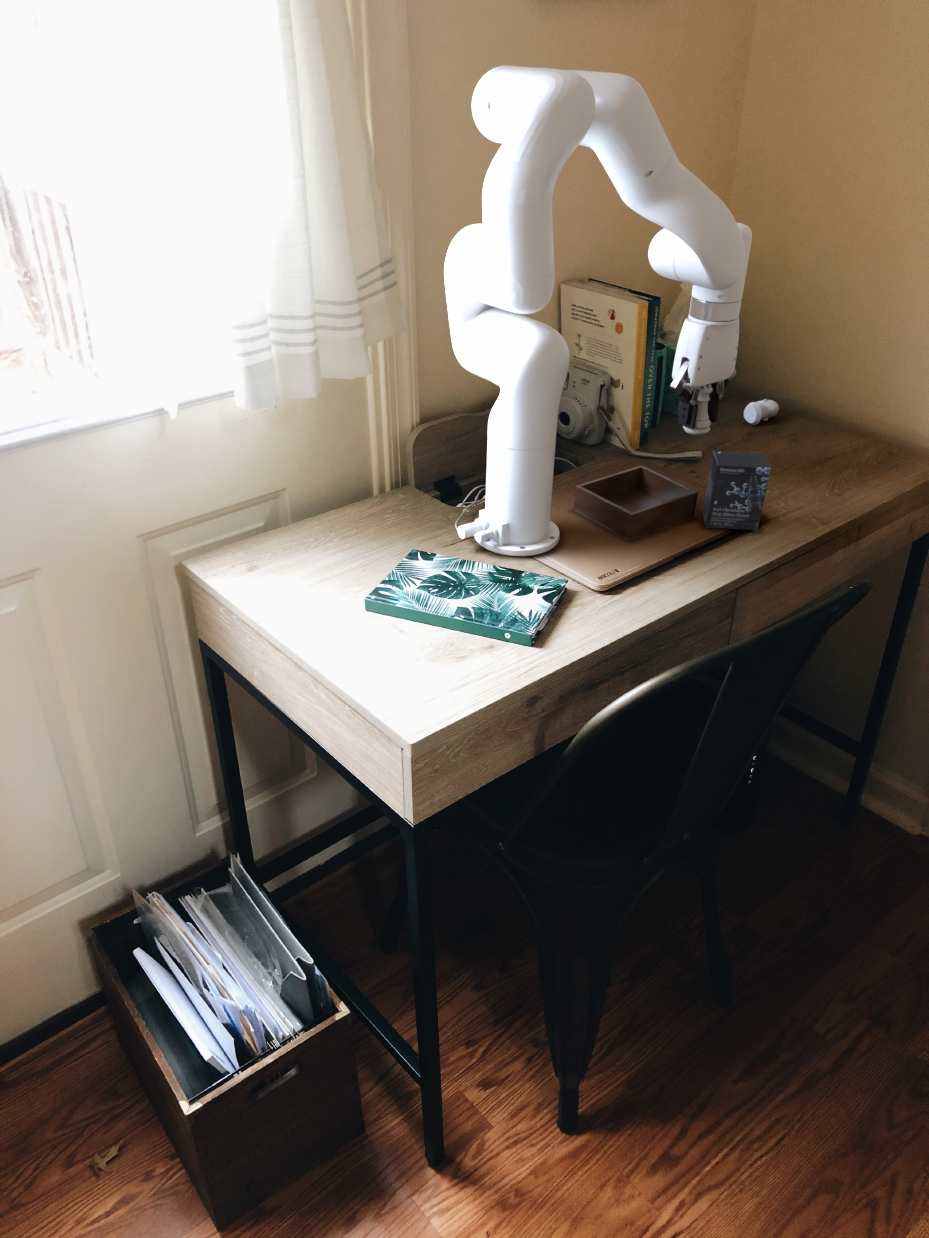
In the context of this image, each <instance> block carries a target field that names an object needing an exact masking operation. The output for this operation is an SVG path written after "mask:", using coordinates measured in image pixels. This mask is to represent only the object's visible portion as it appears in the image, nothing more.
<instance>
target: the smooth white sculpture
mask: <svg viewBox="0 0 929 1238" xmlns="http://www.w3.org/2000/svg"><path fill="white" fill-rule="evenodd" d="M779 410H780V407H779V404H778V402H777V401H775V400H772V399H768V398H764V399H761V400H757V401H751V402H749V403H748V404H747V405H746V406H745V408H744V410H743V418H744V420H745V421H746V422H747V423H748V424H749V425H752V426H756V425H758V424H759V423H760V422H761V420H762V421H767V422H768V421H769V419H771V418H773V417H775V416H776V415H777V414H778V412H779Z"/></svg>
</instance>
